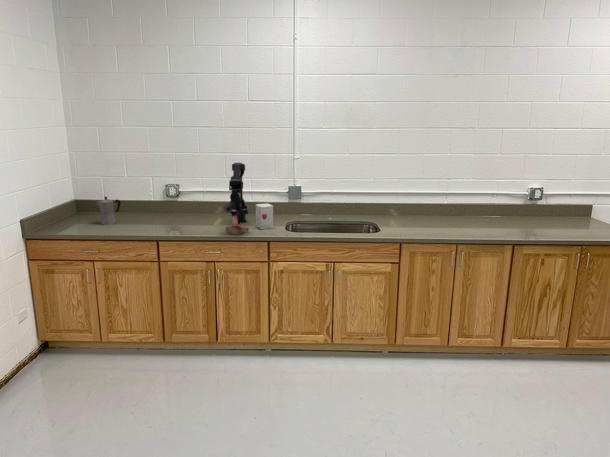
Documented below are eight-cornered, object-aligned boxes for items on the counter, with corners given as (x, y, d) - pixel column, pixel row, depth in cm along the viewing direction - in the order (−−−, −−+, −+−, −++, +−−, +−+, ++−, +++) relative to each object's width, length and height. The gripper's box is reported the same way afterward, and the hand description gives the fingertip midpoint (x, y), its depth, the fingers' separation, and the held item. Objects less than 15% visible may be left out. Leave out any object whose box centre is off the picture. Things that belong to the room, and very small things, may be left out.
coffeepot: (97, 225, 300) (94, 198, 296) (97, 222, 308) (94, 196, 304) (122, 223, 306) (120, 197, 301) (122, 220, 314) (119, 194, 310)
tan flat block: (240, 228, 296) (240, 224, 295) (248, 232, 288) (248, 227, 288) (226, 231, 290) (226, 226, 290) (233, 234, 283) (233, 229, 282)
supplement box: (260, 229, 295) (260, 206, 291) (255, 226, 303) (255, 204, 299) (273, 228, 299) (273, 205, 295) (268, 225, 307) (267, 203, 303)
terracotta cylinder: (238, 223, 292) (238, 214, 290) (242, 225, 288) (242, 216, 286) (231, 224, 289) (231, 215, 287) (235, 226, 285) (235, 217, 284)
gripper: (217, 197, 287) (218, 222, 291) (231, 202, 272) (232, 228, 276) (233, 195, 293) (234, 219, 297) (248, 200, 279) (248, 225, 283)
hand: (237, 223), depth 288 cm, fingers closed on terracotta cylinder, 5 cm apart
